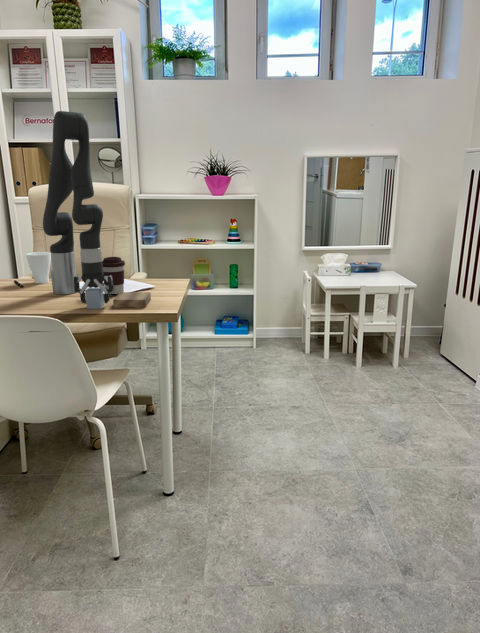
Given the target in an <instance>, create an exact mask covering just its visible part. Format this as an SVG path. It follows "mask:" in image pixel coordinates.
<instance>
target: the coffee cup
mask: <svg viewBox="0 0 480 633" xmlns="http://www.w3.org/2000/svg"><path fill="white" fill-rule="evenodd" d="M102 263H103V274H104V276H110V275H112V278H113V286H114V290H113V291H112V292H110V293H109V294H119V293H120V292H124V288H125V286H124V285H125V269H124V266H126V262H125V260H122V257H119V256H108V257H104V258H102ZM103 283H104V284H105V285H106V287H107V288H108V289H109V286H108V282H107V281H106V279H104V281H103Z"/></svg>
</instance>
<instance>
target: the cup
mask: <svg viewBox="0 0 480 633" xmlns="http://www.w3.org/2000/svg"><path fill="white" fill-rule="evenodd" d="M25 255H26V256H25V257H26V260H27V264H28V267H29V269H30V271H31V273H32V277H33V280H34V284H38V285H39V284H40V285H41V284H48V283H49V280H50V278H49V277H50V269H51V264H52V262H51V253H50V251H34V252H28V253H26V254H25Z"/></svg>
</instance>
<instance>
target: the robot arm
mask: <svg viewBox="0 0 480 633" xmlns="http://www.w3.org/2000/svg"><path fill="white" fill-rule="evenodd" d="M52 123H53V124H52V151H51V160H50V168H49V173H48V187H47V197H46V202H45V208H44V211H43V216H42V229H43V233H44V234H46V236H50V237H58V236H61V238H60V239H59V240H57V241H56V242H55V243H53V244H51V245H50V246H49V252H50V253H51V271H50V278H51V286H52V292H53V293H52V294H56V295H72V294H75V293H78V294H79V295H80V296H79V298H80V302H81V303H82V304H87V301H86V290H87V289H88V288H100V289H101V290H102V291H103V298H104V304H108V303H109V302H110V295H109V293H110V292H112V291H113V290H114V286H113V278H112V275H110V276H104V274H103V263H102V261H103V252H102V247H101V235H100V234H101V229H102V224H103V220H104V219H103V218H104V212H103V209H102V207H101V206H100V205H99V204H97V203H96V204H95V203H94V204H83V200H87V199H91V198H93V197H94V196H95V192H94V191H95V190H94V185H93V178H92V171H91V156H90V154H91V151H90V150H91V149H90V147H91V146H90V130H89V129H90V128H89V123H88V119H87V116H85V114H84V113H82V112H74V111H63V110H57V111H56V112H55V114H54V117H53V122H52ZM66 140H71V141H78V151H77V152H78V153H77V155H76V158H75V160H74V162H73V163H72V160H71V159H70V158H69V156H68V154H67V151H66V148H65V144H66ZM72 193H73V202H72V203H73V204H72V211H71V214H70V212H66V211H63V212H61V211H60V212H59V210H60V207H61V205H62V204H63V203H64V202H65V201H66V200H67V199H68V198H69V197H70V195H71V194H72ZM74 223H75V224H76V225H78V226H84V225H85V226H88V225H91V227H90V228H89V229H88V230H85V231H82V232H80V233H79V235H78V236H79V247H80V263H81V264H80V266H81V274H82V275H78V274H77V269H76V260H75V251H74V250H75V249H74V245H75V240H74ZM104 279H106V281H107V282H108V286H109V289H108V288H107V287H106V285H105V284H104ZM81 281H82V282H83V286H81V288H80V282H81Z"/></svg>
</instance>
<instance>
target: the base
mask: <svg viewBox="0 0 480 633" xmlns="http://www.w3.org/2000/svg"><path fill="white" fill-rule="evenodd" d="M151 297H152V296H151V291H150V292H149V291H147V292H146V291H135V292H133V291H132V292H131V291H130V292H129V291H127V292H126V291H125V292H120V293H119V294H118V295H115V297H114V298H113V299H112V303H113V308H116V309H117V308H118V309H119V308H120V307H123V308H147V306H148V305H149V304H150V302H151V299H152V298H151ZM123 308H122V309H123ZM120 309H121V308H120Z"/></svg>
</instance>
